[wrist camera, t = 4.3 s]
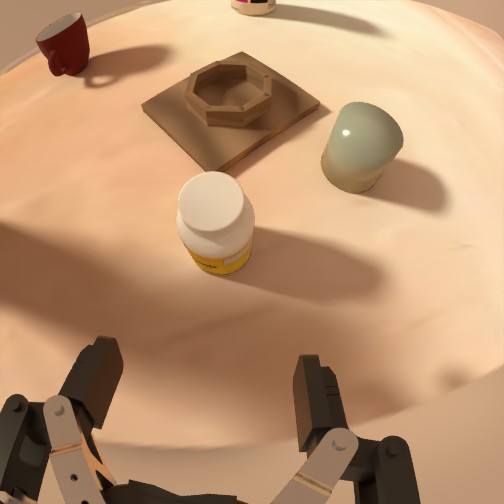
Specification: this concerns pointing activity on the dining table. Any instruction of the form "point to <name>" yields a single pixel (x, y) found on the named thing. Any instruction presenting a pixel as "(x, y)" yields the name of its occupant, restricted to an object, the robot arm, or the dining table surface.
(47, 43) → the mug
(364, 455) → the robot arm
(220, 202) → the supplement bottle
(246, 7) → the supplement can
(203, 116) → the caddy
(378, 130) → the sage green domed cylinder
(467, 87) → the dining table surface
